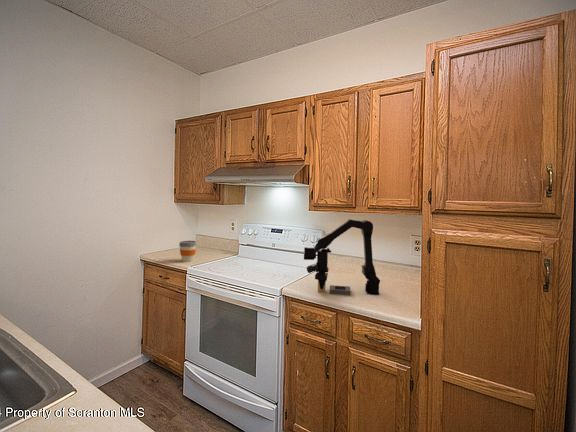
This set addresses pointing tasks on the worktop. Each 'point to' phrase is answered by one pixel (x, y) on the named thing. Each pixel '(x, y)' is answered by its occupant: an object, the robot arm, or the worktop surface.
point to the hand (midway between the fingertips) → (321, 287)
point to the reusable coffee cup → (187, 250)
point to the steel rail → (340, 290)
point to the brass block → (321, 289)
